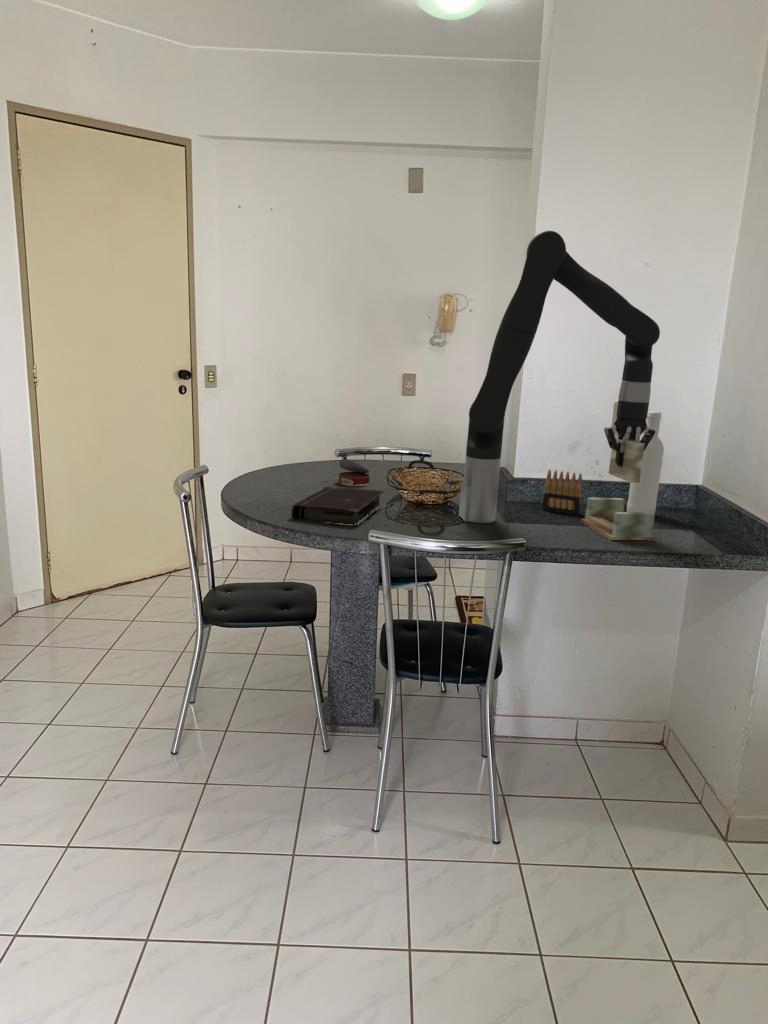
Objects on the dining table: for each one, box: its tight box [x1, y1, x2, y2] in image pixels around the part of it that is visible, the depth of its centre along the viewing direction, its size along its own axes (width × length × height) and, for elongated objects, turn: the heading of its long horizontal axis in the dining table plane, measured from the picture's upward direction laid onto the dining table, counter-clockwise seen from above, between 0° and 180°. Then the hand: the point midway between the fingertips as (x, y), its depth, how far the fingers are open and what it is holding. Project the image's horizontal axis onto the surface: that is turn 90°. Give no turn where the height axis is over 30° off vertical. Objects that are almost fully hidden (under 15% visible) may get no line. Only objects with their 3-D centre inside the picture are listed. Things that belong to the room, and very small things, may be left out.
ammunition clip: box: [541, 468, 583, 516], centre depth 218 cm, size 11×2×12 cm, turn 67°
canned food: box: [338, 458, 371, 485], centre depth 241 cm, size 11×10×10 cm
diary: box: [291, 486, 385, 527], centre depth 203 cm, size 19×25×5 cm
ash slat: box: [608, 435, 645, 484], centre depth 196 cm, size 2×12×10 cm, turn 10°
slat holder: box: [580, 497, 656, 541], centre depth 200 cm, size 12×18×7 cm, turn 10°
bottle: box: [626, 410, 665, 515], centre depth 218 cm, size 8×8×30 cm
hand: (625, 466), depth 196 cm, fingers closed on ash slat, 2 cm apart
